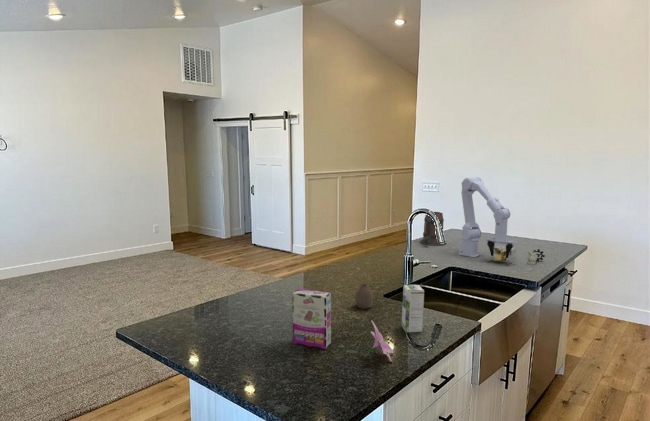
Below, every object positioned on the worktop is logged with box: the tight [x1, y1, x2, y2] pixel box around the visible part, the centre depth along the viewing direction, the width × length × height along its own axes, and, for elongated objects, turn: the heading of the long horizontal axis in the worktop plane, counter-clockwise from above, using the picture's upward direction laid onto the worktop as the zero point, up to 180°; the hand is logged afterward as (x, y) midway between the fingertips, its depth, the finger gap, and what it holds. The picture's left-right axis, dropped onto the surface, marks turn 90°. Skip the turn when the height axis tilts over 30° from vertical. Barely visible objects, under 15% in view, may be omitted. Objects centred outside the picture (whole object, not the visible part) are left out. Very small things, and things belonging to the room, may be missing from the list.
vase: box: [354, 283, 374, 310], centre depth 163 cm, size 7×7×9 cm
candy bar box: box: [292, 288, 332, 350], centre depth 132 cm, size 11×5×16 cm, turn 69°
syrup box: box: [401, 284, 425, 333], centre depth 143 cm, size 6×6×14 cm
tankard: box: [419, 211, 447, 247], centre depth 271 cm, size 24×17×20 cm
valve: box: [527, 248, 546, 266], centre depth 228 cm, size 7×7×12 cm
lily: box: [365, 320, 394, 362], centre depth 124 cm, size 12×12×10 cm
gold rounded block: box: [495, 250, 506, 262], centre depth 230 cm, size 6×11×6 cm, turn 139°
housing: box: [491, 244, 517, 264], centre depth 233 cm, size 10×8×7 cm
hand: (499, 256), depth 227 cm, fingers open, 7 cm apart
